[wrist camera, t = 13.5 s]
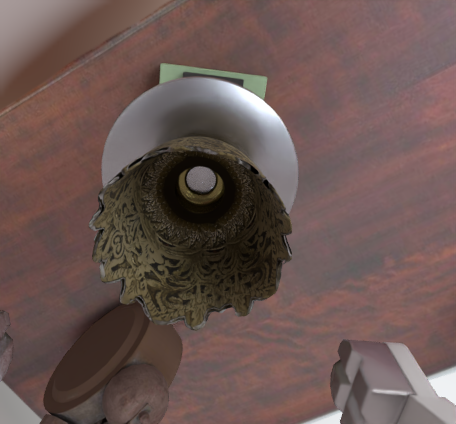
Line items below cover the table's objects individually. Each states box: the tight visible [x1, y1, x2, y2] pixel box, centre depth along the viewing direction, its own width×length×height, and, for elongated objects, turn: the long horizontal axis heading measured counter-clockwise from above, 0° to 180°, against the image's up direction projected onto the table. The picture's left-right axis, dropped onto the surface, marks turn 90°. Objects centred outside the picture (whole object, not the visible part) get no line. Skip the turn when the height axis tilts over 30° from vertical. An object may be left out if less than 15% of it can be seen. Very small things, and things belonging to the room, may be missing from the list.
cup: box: [89, 136, 292, 331], centre depth 17 cm, size 8×7×8 cm
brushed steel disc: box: [101, 76, 299, 214], centre depth 22 cm, size 11×11×2 cm
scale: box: [159, 63, 267, 100], centre depth 31 cm, size 10×10×18 cm
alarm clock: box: [40, 299, 182, 424], centre depth 39 cm, size 15×7×20 cm, turn 124°
